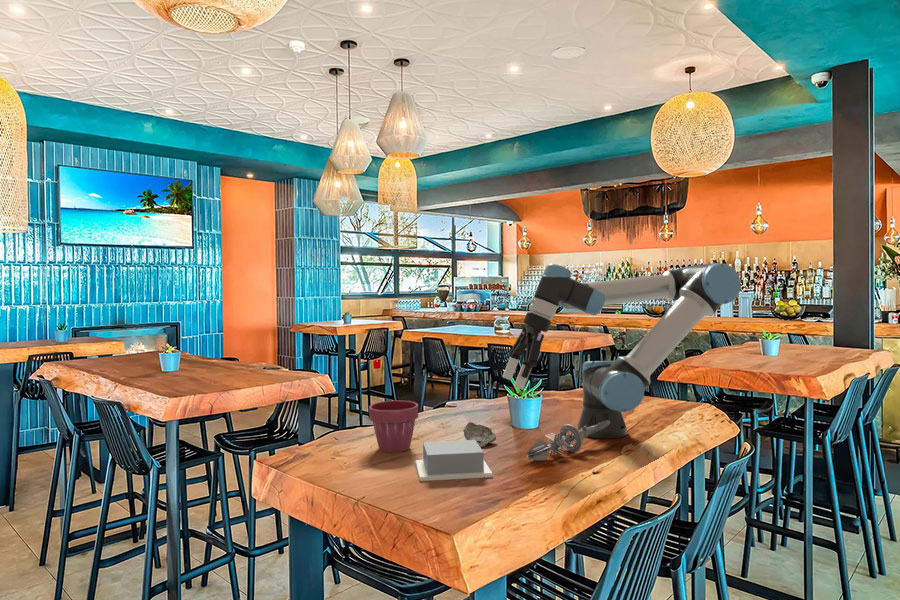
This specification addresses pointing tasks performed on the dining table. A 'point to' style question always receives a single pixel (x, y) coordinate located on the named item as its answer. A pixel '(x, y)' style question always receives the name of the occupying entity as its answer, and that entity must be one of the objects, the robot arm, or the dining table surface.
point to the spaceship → (563, 441)
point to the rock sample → (479, 434)
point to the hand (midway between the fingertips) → (512, 383)
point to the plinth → (452, 461)
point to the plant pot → (393, 424)
